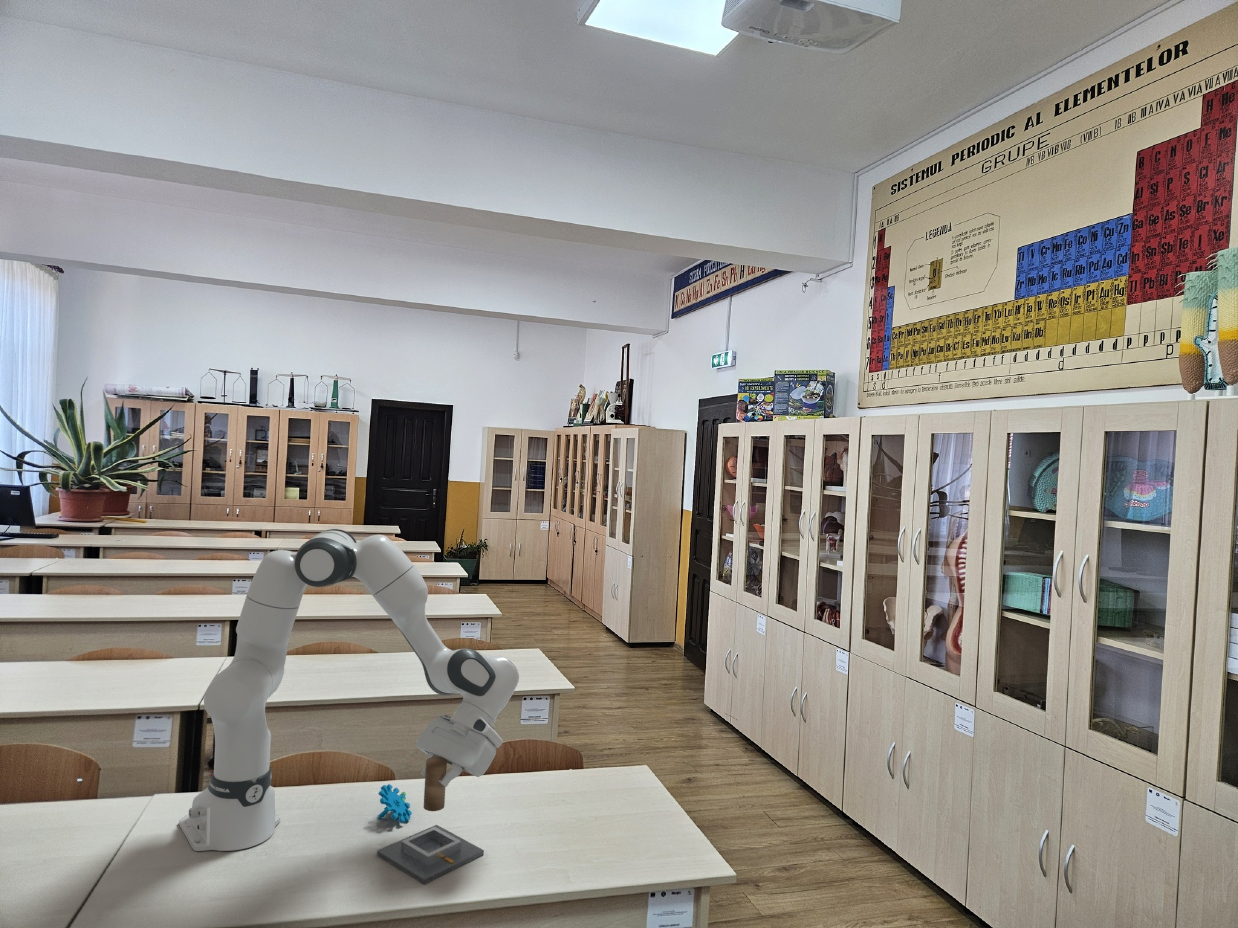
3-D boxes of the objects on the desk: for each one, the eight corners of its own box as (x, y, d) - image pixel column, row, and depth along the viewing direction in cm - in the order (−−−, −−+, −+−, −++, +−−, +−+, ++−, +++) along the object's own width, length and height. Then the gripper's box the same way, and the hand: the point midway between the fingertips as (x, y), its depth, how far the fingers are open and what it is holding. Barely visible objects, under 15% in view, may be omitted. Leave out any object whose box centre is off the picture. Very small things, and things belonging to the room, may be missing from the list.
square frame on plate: (376, 854, 167) (377, 840, 167) (436, 828, 180) (437, 815, 180) (424, 884, 157) (425, 869, 157) (483, 854, 170) (484, 840, 170)
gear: (402, 824, 177) (376, 788, 179) (383, 841, 177) (357, 805, 179) (420, 809, 188) (396, 775, 190) (402, 825, 188) (378, 791, 190)
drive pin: (419, 806, 168) (421, 760, 168) (435, 799, 171) (438, 754, 171) (432, 813, 165) (434, 766, 165) (448, 806, 169) (451, 760, 168)
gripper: (433, 704, 180) (395, 758, 172) (494, 728, 167) (456, 788, 160) (447, 719, 183) (410, 772, 176) (508, 743, 171) (471, 802, 163)
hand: (433, 780), depth 168 cm, fingers closed on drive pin, 4 cm apart
